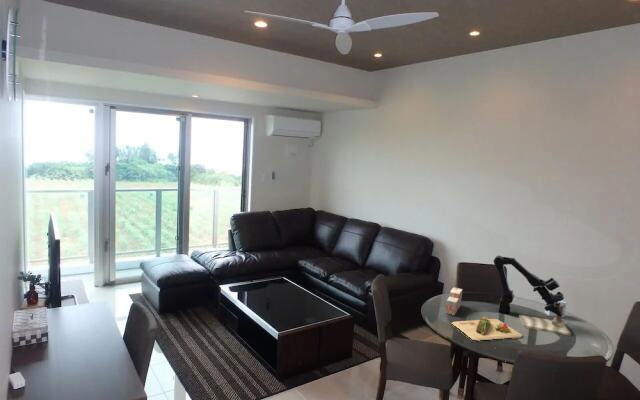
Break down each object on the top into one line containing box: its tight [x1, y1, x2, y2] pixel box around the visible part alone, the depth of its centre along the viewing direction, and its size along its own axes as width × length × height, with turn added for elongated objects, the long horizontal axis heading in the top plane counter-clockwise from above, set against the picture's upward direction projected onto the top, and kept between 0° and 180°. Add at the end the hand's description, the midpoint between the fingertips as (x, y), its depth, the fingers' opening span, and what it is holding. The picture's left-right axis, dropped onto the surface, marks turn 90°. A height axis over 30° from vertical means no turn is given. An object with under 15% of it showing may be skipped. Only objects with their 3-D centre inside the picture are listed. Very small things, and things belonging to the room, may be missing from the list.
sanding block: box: [551, 306, 566, 327], centre depth 249 cm, size 6×7×12 cm
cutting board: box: [451, 316, 523, 342], centre depth 238 cm, size 35×23×8 cm
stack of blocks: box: [444, 286, 463, 316], centre depth 267 cm, size 21×6×12 cm, turn 150°
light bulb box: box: [544, 299, 567, 318], centre depth 268 cm, size 11×7×11 cm, turn 84°
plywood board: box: [518, 314, 572, 337], centre depth 250 cm, size 26×17×2 cm, turn 72°
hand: (562, 315), depth 248 cm, fingers closed on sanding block, 4 cm apart
